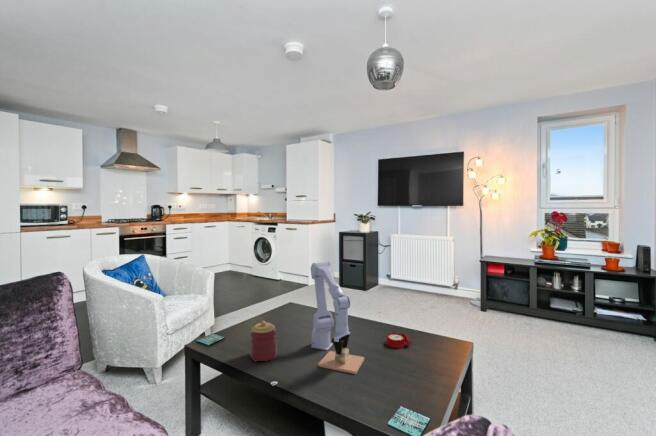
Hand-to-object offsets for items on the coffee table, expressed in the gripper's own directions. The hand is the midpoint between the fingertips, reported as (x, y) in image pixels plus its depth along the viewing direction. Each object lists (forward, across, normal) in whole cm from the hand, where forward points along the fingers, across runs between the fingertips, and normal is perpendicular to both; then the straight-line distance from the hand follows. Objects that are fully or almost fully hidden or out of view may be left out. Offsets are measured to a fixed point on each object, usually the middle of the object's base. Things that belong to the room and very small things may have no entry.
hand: (341, 350), depth 146 cm
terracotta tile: (+6, 0, 0) cm, 6 cm away
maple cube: (+5, 0, 0) cm, 5 cm away
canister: (+6, -8, +38) cm, 39 cm away
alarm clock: (+6, +31, -21) cm, 38 cm away
